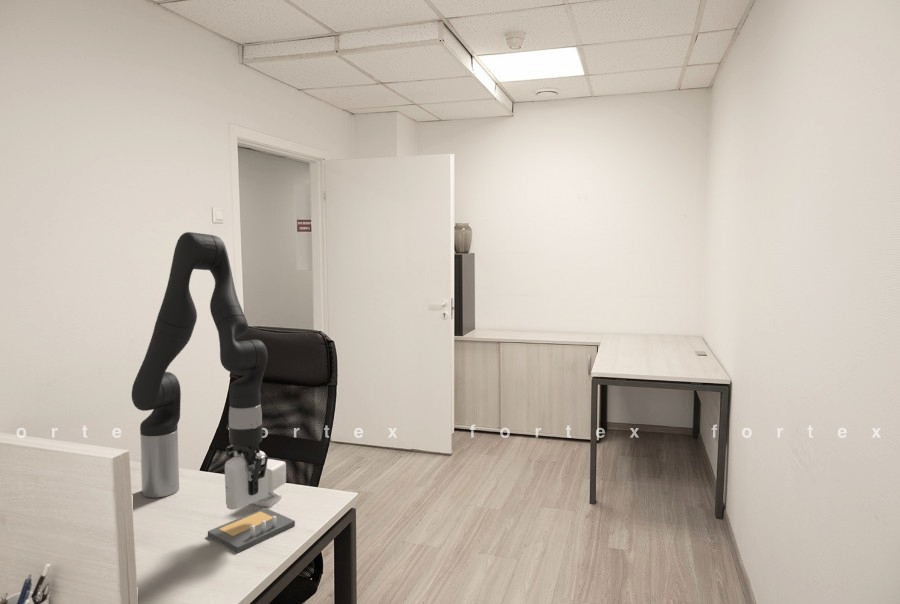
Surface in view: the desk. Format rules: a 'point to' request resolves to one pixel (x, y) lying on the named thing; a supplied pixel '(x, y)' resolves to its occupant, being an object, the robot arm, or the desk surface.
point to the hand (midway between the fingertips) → (247, 491)
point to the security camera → (273, 482)
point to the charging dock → (251, 529)
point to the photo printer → (242, 484)
